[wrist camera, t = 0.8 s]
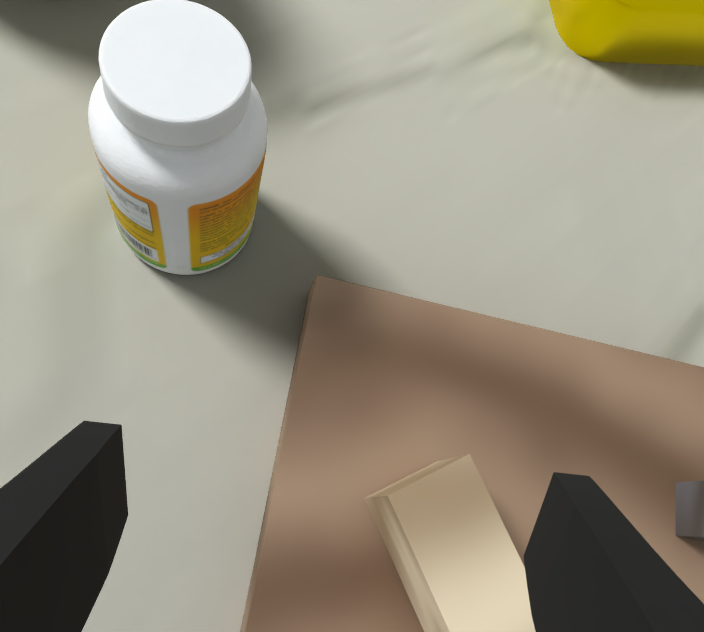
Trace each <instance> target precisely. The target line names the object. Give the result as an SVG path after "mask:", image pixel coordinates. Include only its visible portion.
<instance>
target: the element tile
mask: <svg viewBox="0 0 704 632" xmlns="http://www.w3.org/2000/svg"><path fill="white" fill-rule="evenodd" d="M549 2H550V6H551V10H552V14H553V18H554V22H555V26H556V28H557V30H558V33H559V35H560V36H561V38H562V39H563V41H564V42H565V43H566V45H567V46H568V47H569V48H570V49H571V50H573V51H574V52H575V53H576V54H578V55H580V56H582V57H585V58H587V59H590V60H594V61H600V62H617V63H643V64H670V65H696V66H704V0H549Z"/></svg>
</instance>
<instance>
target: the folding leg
mask: <svg viewBox="0 0 704 632" xmlns="http://www.w3.org/2000/svg"><path fill="white" fill-rule="evenodd" d="M365 501H366V503H367V505H368V507H369V509H370V512H371V514H372V516H373V518H374V521H375V523H376V525H377V527H378V530H379V532H380V534H381V536H382V538H383V541H384V543H385V545H386V547H387V550H388V552H389V554H390V556H391V559H392V561H393V563H394V565H395V567H396V570H397V572H398V574H399V576H400V579H401V581H402V583H403V585H404V588H405V590H406V592H407V594H408V597H409V599H410V601H411V603H412V605H413V608H414V610H415V612H416V614H417V617H418V619H419V621H420V623H421V626H422V628H423V630H424V632H536V631H535V627H534V623H533V619H532V614H531V608H530V601H529V595H528V588H527V580H526V572H525V567H524V565H523V563H522V561H521V559H520V557H519V555H518V552H517V550H516V548H515V546H514V544H513V542H512V540H511V538H510V536H509V534H508V532H507V530H506V528H505V526H504V524H503V522H502V520H501V517H500V515H499V513H498V511H497V509H496V507H495V505H494V503H493V501H492V499H491V497H490V495H489V493H488V491H487V489H486V487H485V484H484V482H483V480H482V478H481V476H480V474H479V472H478V470H477V468H476V466H475V464H474V462H473V460H472V458H471V456H470V454H467V455H463V456H458V457H454V458H450V459H445V460H441V461H437V462H435V463H433V464H431V465H429V466H427V467H425V468H423V469H421V470H419V471H417V472H415V473H413V474H411V475H409V476H407V477H405V478H403V479H401V480H399V481H397V482H395V483H393V484H391V485H389V486H387V487H385V488H383V489H381V490H379V491H377V492H375V493H373V494H371V495H369V496H367V497H365Z"/></svg>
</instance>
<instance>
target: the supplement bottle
mask: <svg viewBox="0 0 704 632" xmlns="http://www.w3.org/2000/svg"><path fill="white" fill-rule="evenodd" d="M99 66H100V72H101V76H100V77H99V79H98V81H97V82H96V84H95V86H94V89H93V91H92V94H91V98H90V102H89V109H88V122H89V129H90V135H91V139H92V144H93V147H94V150H95V154H96V157H97V160H98V163H99V166H100V170H101V173H102V177H103V180H104V184H105V187H106V191H107V194H108V197H109V200H110V204H111V207H112V211H113V214H114V217H115V220H116V223H117V226H118V229H119V231H120V233H121V235H122V237H123V239H124V241H125V242H126V244H127V246H128V247H129V248H130V249H131V251H132V252H133V253H134V254H135V255H136V256H137V257H139V258H140V259H141V260H142V261H144V262H145V263H147V264H148V265H150V266H152V267H154V268H156V269H159V270H161V271H164V272H168V273H173V274H180V275H193V274H200V273H205V272H208V271H211V270H214V269H216V268H219V267H221V266H222V265H224V264H226V263H227V262H229V261H230V260H231V259H233V258H234V257H235V256H236V255H237V254H238V253H239V252H240V251H241V249H242V248H243V246H244V245H245V243H246V242H247V240H248V237H249V235H250V232H251V229H252V225H253V221H254V216H255V211H256V204H257V198H258V192H259V185H260V181H261V175H262V170H263V165H264V159H265V152H266V145H267V117H266V112H265V108H264V105H263V102H262V100H261V97H260V95H259V93H258V91H257V89H256V87H255V86H254V84H253V83H252V81H251V80H252V62H251V56H250V53H249V49H248V47H247V44H246V42H245V41H244V39H243V37H242V35H241V34H240V33H239V31H238V30H237V29H236V28H235V27H234V26H233V25H232V23H230V22H229V21H228V20H227V19H226V18H225V17H223V16H222V15H220V14H219V13H217V12H216V11H214V10H212V9H210V8H208V7H206V6H203V5H201V4H198V3H195V2H191V1H187V0H151V1H146V2H143V3H140V4H137V5H135V6H132V7H130V8H129V9H127V10H125V11H124V12H122V13H121V14H120V15H119V16H117V17H116V18H115V19H114V20H113V21H112V22H111V23H110V25H109V26H108V27H107V29H106V31H105V33H104V35H103V37H102V40H101V43H100V48H99Z"/></svg>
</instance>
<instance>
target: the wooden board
mask: <svg viewBox="0 0 704 632" xmlns="http://www.w3.org/2000/svg"><path fill="white" fill-rule="evenodd" d="M467 454H470V456H471V458H472V460H473V462H474V464H475V466H476V468H477V470H478V472H479V474H480V476H481V478H482V480H483V482H484V484H485V487H486V489H487V491H488V493H489V495H490V497H491V499H492V501H493V503H494V505H495V507H496V509H497V511H498V513H499V515H500V517H501V520H502V522H503V524H504V526H505V528H506V530H507V532H508V534H509V536H510V538H511V540H512V542H513V544H514V546H515V548H516V550H517V552H518V555H519V557H520V559H521V561H522V563H523V565H524V557H523V556H524V553H525V551H526V548H527V545H528V542H529V539H530V537H531V534H532V531H533V528H534V525H535V523H536V520H537V517H538V514H539V512H540V509H541V506H542V503H543V500H544V498H545V495H546V492H547V489H548V486H549V484H550V481H551V478H552V475H553V473H554V472H558V473H567V474H576V475H585V476H590V477H591V478H592V479H593V480H594V481H595V482H596V484H597V485H598V486H599V487H600V488H601V489H602V490H603V491H604V493H605V494H606V495H607V496H608V497H609V498H610V499H611V501H612V502H613V503H614V504H615V505H616V506H617V508H618V509H619V510H620V511H621V512H622V513H623V514H624V516H625V517H626V518H627V519H628V520H629V521H630V523H631V524H632V525H633V526H634V527H635V528H636V530H637V531H638V532H639V533H640V534H641V535H642V536H643V538H644V539H645V540H646V541H647V542H648V543H649V544H650V546H651V547H652V548H653V549H654V550H655V551H656V552H657V553H658V555H659V556H660V557H661V558H662V559H663V560H664V561H665V562H666V564H667V565H668V566H669V567H670V568H671V569H672V570H673V571H674V572H675V574H676V575H677V576H678V577H679V578H680V579H681V580H682V581H683V582H684V583H685V584H686V585H687V587H688V588H689V589H690V590H691V591H692V592H693V593H694V594H695V595H696V596H697V597H698V598H699V599H700V600H701V601H702V602H703V604H704V367H699V366H695V365H691V364H687V363H683V362H679V361H674V360H670V359H666V358H662V357H658V356H654V355H649V354H645V353H641V352H637V351H633V350H629V349H624V348H620V347H616V346H612V345H608V344H604V343H599V342H595V341H591V340H587V339H583V338H579V337H574V336H570V335H566V334H562V333H558V332H554V331H549V330H545V329H541V328H537V327H533V326H529V325H524V324H520V323H516V322H512V321H508V320H504V319H499V318H495V317H491V316H487V315H483V314H479V313H474V312H470V311H466V310H462V309H458V308H454V307H449V306H445V305H441V304H437V303H433V302H429V301H424V300H420V299H416V298H412V297H408V296H404V295H399V294H395V293H391V292H387V291H383V290H379V289H374V288H370V287H366V286H362V285H358V284H353V283H349V282H345V281H341V280H337V279H333V278H328V277H324V276H320V275H317V276H316V278H315V280H314V282H313V284H312V287H311V289H310V291H309V294H308V299H307V304H306V309H305V314H304V319H303V324H302V329H301V334H300V339H299V344H298V349H297V354H296V359H295V364H294V369H293V374H292V379H291V384H290V388H289V393H288V398H287V403H286V408H285V413H284V418H283V423H282V428H281V433H280V438H279V443H278V448H277V453H276V458H275V463H274V468H273V473H272V478H271V483H270V488H269V493H268V498H267V503H266V507H265V512H264V517H263V522H262V527H261V532H260V537H259V542H258V547H257V552H256V557H255V562H254V567H253V572H252V577H251V582H250V587H249V592H248V597H247V602H246V607H245V612H244V617H243V622H242V626H241V631H240V632H424V630H423V628H422V626H421V623H420V621H419V619H418V617H417V614H416V612H415V610H414V608H413V605H412V603H411V601H410V599H409V597H408V594H407V592H406V590H405V588H404V585H403V583H402V581H401V579H400V576H399V574H398V572H397V570H396V567H395V565H394V563H393V561H392V559H391V556H390V554H389V552H388V550H387V547H386V545H385V543H384V541H383V538H382V536H381V534H380V532H379V530H378V527H377V525H376V523H375V521H374V518H373V516H372V514H371V512H370V509H369V507H368V505H367V503H366V501H365V497H367V496H369V495H371V494H373V493H375V492H377V491H379V490H381V489H383V488H385V487H387V486H389V485H391V484H393V483H395V482H397V481H399V480H401V479H403V478H405V477H407V476H409V475H411V474H413V473H415V472H417V471H419V470H421V469H423V468H425V467H427V466H429V465H431V464H433V463H435V462H437V461H441V460H445V459H450V458H454V457H458V456H463V455H467ZM524 567H525V565H524Z"/></svg>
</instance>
